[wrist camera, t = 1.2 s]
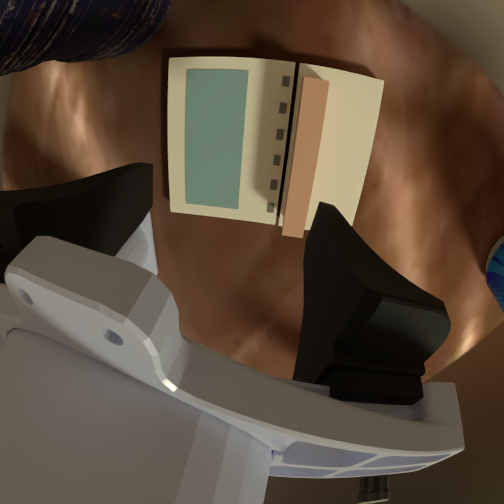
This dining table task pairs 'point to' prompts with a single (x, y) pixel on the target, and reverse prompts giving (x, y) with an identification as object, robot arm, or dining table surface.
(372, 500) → the sauce bottle
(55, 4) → the storage jar
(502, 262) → the beer can
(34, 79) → the dining table surface
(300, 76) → the cream and brown block
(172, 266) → the dining table surface
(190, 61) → the cream teal notepad
